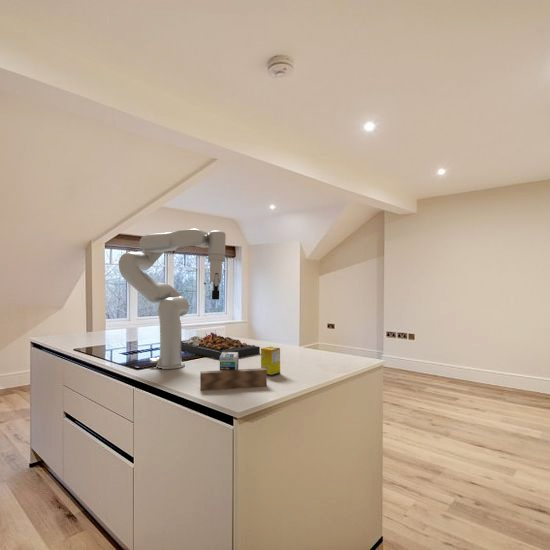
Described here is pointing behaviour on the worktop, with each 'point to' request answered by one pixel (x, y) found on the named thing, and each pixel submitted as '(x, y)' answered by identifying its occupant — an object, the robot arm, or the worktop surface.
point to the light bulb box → (229, 361)
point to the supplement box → (271, 360)
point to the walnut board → (233, 378)
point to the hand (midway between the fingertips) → (215, 299)
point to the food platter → (217, 346)
